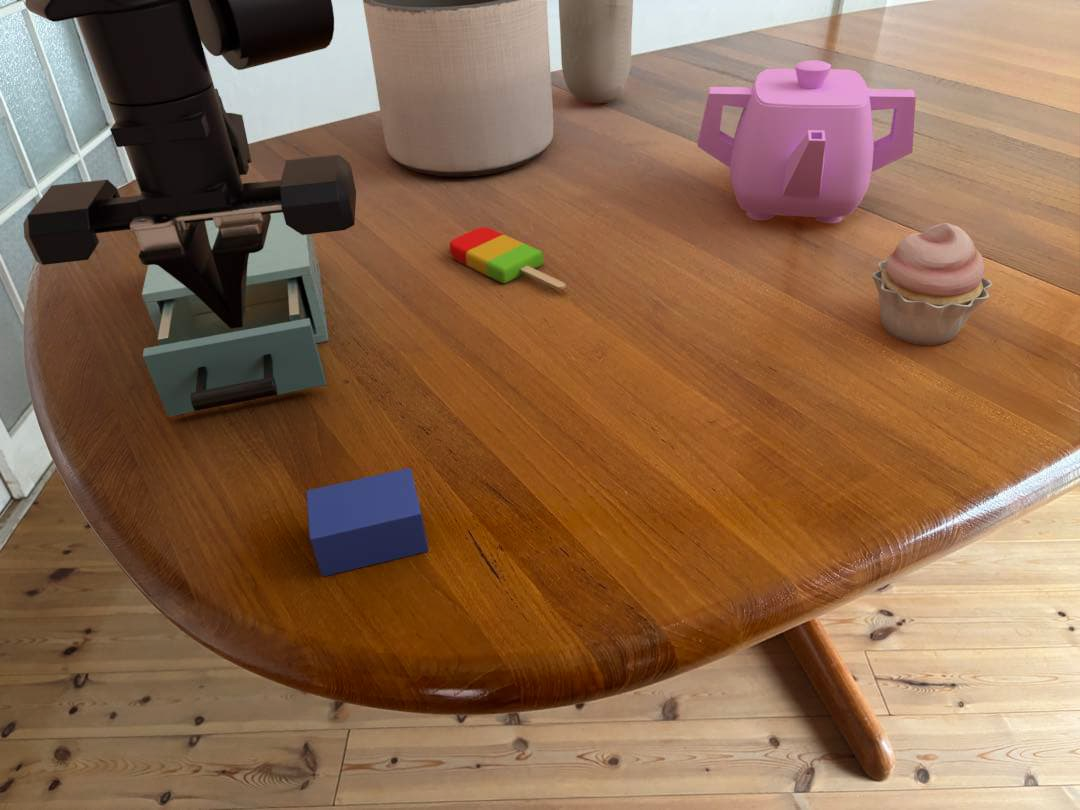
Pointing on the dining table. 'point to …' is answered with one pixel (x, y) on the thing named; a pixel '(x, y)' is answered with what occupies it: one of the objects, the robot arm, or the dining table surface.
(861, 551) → the dining table surface
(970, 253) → the cupcake
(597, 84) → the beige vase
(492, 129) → the planter
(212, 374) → the drawer
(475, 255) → the popsicle
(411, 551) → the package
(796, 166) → the teapot
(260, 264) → the cabinet
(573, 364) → the dining table surface
